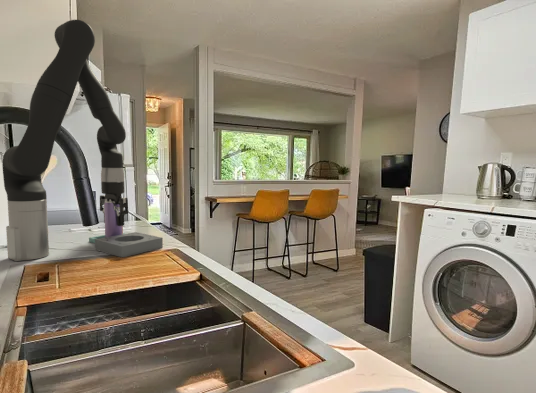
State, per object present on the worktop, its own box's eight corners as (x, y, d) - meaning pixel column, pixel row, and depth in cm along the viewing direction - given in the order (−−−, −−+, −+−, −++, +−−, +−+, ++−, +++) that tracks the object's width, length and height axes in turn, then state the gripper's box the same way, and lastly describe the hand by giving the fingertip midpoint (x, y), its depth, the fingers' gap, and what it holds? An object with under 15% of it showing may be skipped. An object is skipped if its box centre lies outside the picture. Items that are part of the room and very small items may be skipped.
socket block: (122, 257, 96) (121, 246, 95) (95, 249, 104) (95, 239, 103) (162, 247, 108) (162, 237, 108) (135, 241, 116) (135, 232, 116)
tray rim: (107, 246, 108) (107, 242, 108) (89, 241, 114) (88, 237, 114) (138, 240, 118) (138, 236, 118) (119, 236, 124) (119, 232, 124)
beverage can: (118, 243, 113) (117, 201, 112) (101, 242, 113) (100, 201, 112) (126, 239, 119) (125, 200, 117) (110, 239, 119) (109, 199, 118)
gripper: (91, 180, 115) (93, 223, 116) (114, 181, 107) (115, 228, 108) (111, 179, 121) (112, 221, 122) (134, 181, 113) (135, 225, 115)
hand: (114, 224), depth 115 cm, fingers open, 8 cm apart
